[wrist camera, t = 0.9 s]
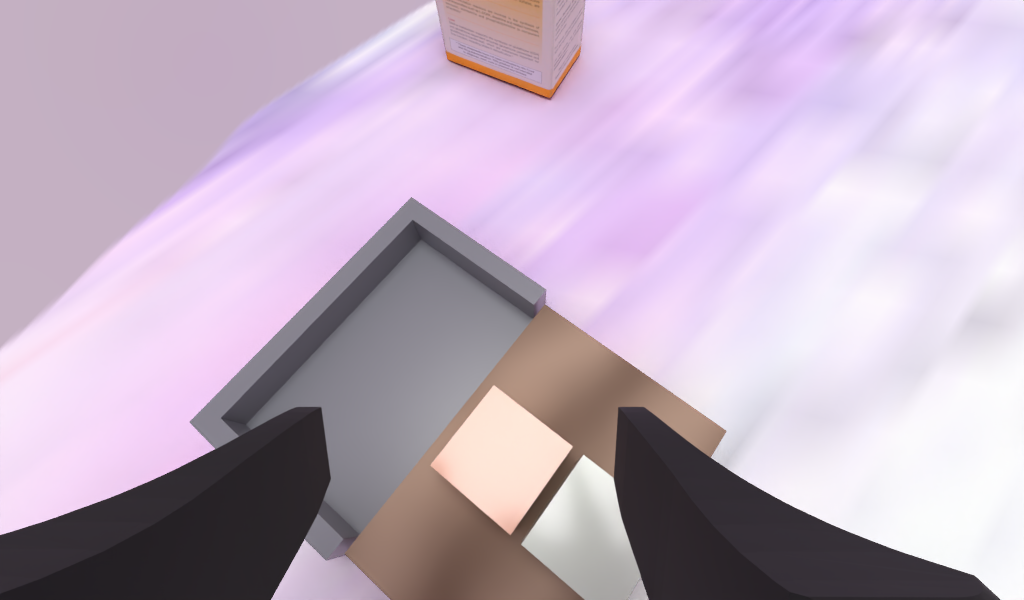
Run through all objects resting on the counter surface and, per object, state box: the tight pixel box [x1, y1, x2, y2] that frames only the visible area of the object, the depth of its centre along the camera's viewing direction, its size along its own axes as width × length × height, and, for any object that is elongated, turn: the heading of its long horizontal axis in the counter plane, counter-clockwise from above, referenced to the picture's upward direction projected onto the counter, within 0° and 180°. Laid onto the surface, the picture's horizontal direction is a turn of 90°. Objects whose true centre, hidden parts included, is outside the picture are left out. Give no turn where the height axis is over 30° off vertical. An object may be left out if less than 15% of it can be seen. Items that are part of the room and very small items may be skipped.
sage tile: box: [521, 455, 641, 600], centre depth 19 cm, size 4×4×2 cm
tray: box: [190, 197, 546, 561], centre depth 24 cm, size 9×15×2 cm, turn 142°
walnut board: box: [344, 305, 726, 600], centre depth 22 cm, size 10×14×2 cm
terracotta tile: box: [430, 386, 573, 535], centre depth 20 cm, size 4×4×2 cm
